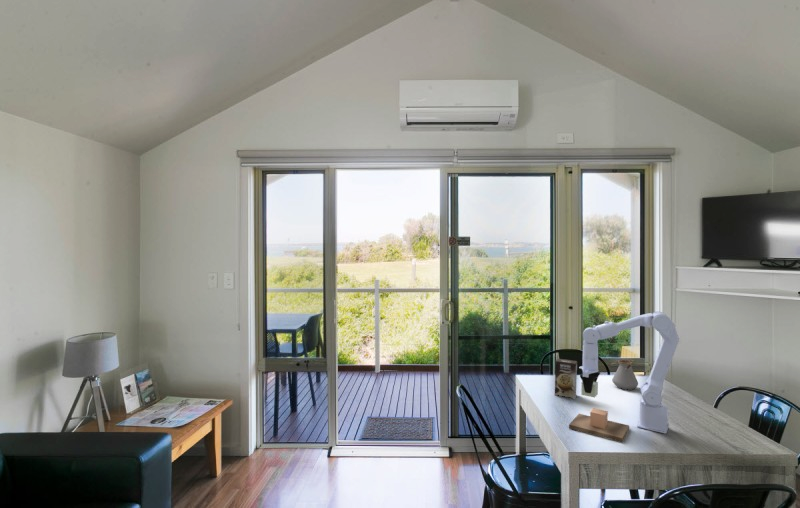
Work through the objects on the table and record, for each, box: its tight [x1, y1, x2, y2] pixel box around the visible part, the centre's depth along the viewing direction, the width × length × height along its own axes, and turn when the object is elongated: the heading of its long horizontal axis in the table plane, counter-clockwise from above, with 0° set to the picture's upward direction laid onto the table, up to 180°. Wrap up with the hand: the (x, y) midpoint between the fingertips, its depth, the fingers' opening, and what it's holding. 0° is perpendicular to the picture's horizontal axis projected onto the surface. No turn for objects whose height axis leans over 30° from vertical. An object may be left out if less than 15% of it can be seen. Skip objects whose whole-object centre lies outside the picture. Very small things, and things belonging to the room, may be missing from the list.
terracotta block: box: [589, 408, 609, 429], centre depth 156 cm, size 5×5×5 cm
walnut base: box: [568, 413, 630, 443], centre depth 156 cm, size 18×14×2 cm
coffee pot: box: [612, 359, 639, 391], centre depth 202 cm, size 21×12×15 cm, turn 158°
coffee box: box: [554, 357, 578, 399], centre depth 194 cm, size 9×6×16 cm
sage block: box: [580, 381, 599, 398], centre depth 168 cm, size 5×5×5 cm
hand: (589, 390), depth 168 cm, fingers closed on sage block, 5 cm apart
